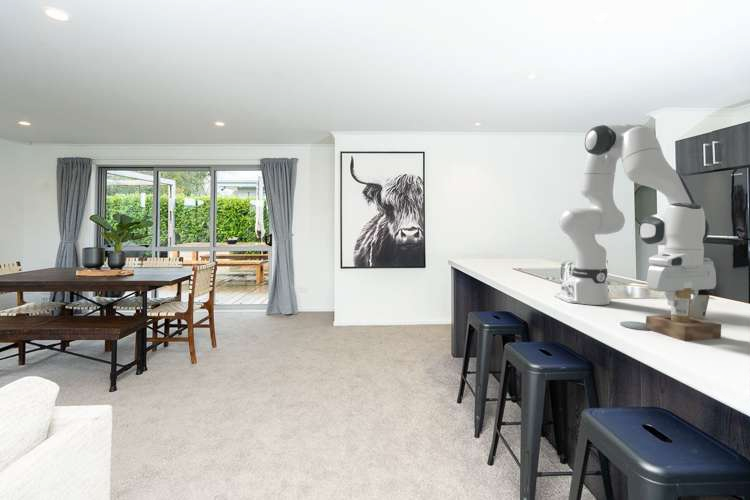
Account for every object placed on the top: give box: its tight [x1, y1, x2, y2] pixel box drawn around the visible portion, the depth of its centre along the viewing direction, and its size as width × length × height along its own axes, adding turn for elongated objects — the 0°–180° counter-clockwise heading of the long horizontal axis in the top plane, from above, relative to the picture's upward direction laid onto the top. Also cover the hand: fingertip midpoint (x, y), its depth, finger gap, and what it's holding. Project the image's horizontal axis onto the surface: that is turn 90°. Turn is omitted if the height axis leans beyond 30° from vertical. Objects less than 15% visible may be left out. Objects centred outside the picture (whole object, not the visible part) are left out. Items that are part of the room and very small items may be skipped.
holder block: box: [645, 314, 722, 342], centre depth 107 cm, size 12×12×4 cm
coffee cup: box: [690, 289, 711, 320], centre depth 124 cm, size 7×7×10 cm
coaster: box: [619, 320, 651, 331], centre depth 115 cm, size 9×9×1 cm
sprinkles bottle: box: [670, 282, 692, 324], centre depth 107 cm, size 5×5×13 cm
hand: (680, 304), depth 107 cm, fingers closed on sprinkles bottle, 4 cm apart
